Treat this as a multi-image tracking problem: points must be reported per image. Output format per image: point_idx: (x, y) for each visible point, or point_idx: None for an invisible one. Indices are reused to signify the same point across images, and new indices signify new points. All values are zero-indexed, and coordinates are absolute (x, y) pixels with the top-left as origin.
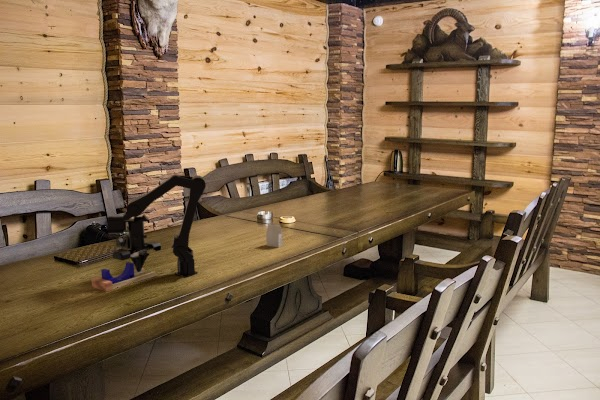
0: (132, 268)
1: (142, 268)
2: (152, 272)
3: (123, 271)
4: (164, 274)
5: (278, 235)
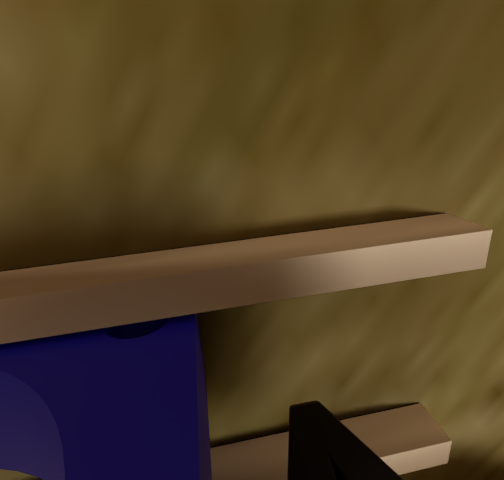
0: None
1: (476, 241)
2: (411, 462)
3: (39, 395)
4: (480, 436)
5: None
